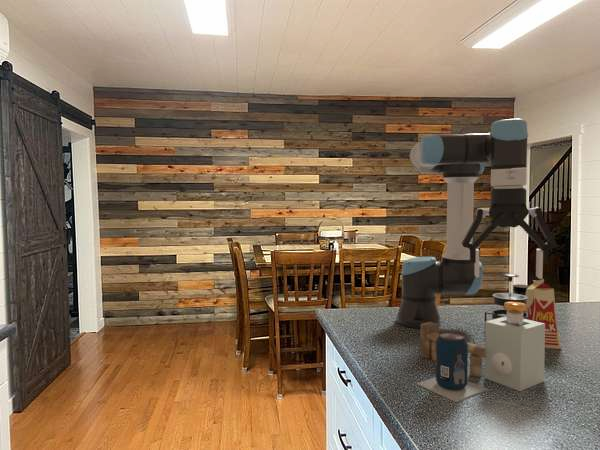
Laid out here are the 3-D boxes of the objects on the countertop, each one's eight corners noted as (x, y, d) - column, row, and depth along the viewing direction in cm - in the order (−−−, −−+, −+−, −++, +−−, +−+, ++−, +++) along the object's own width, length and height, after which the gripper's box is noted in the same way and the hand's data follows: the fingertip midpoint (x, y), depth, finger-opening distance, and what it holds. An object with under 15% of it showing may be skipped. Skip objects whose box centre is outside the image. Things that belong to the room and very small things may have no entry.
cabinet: (479, 380, 105) (479, 322, 104) (508, 369, 111) (509, 315, 110) (514, 393, 97) (515, 332, 96) (544, 381, 103) (545, 323, 103)
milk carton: (561, 348, 126) (563, 280, 125) (527, 347, 128) (528, 279, 127) (550, 339, 135) (551, 275, 134) (518, 337, 137) (519, 274, 136)
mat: (417, 384, 102) (417, 383, 102) (447, 374, 108) (447, 373, 108) (456, 402, 93) (456, 401, 93) (487, 390, 99) (487, 388, 99)
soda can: (444, 377, 106) (444, 329, 105) (472, 385, 101) (473, 335, 100) (430, 386, 101) (430, 335, 100) (458, 395, 96) (459, 342, 95)
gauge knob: (499, 332, 105) (499, 303, 104) (511, 329, 107) (511, 300, 107) (518, 337, 101) (519, 307, 100) (530, 334, 103) (530, 304, 103)
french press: (531, 353, 122) (532, 273, 121) (530, 364, 114) (531, 278, 113) (486, 347, 128) (487, 270, 127) (482, 357, 120) (483, 275, 119)
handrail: (419, 355, 122) (420, 324, 121) (430, 352, 124) (430, 321, 123) (481, 379, 105) (481, 342, 105) (492, 375, 107) (492, 339, 107)
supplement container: (510, 313, 166) (511, 286, 166) (514, 309, 172) (514, 283, 171) (530, 316, 162) (530, 288, 162) (533, 312, 167) (533, 285, 167)
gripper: (452, 189, 101) (453, 279, 103) (574, 185, 94) (571, 281, 96) (450, 188, 108) (451, 272, 110) (563, 185, 101) (561, 274, 103)
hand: (507, 276), depth 103 cm, fingers open, 13 cm apart
